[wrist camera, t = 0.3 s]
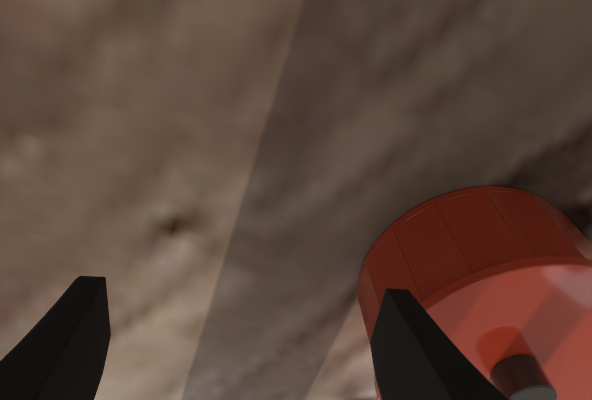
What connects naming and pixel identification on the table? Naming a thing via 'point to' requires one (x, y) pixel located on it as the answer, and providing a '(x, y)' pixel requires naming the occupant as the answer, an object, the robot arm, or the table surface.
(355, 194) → the table surface
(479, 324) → the pot lid
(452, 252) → the pot
